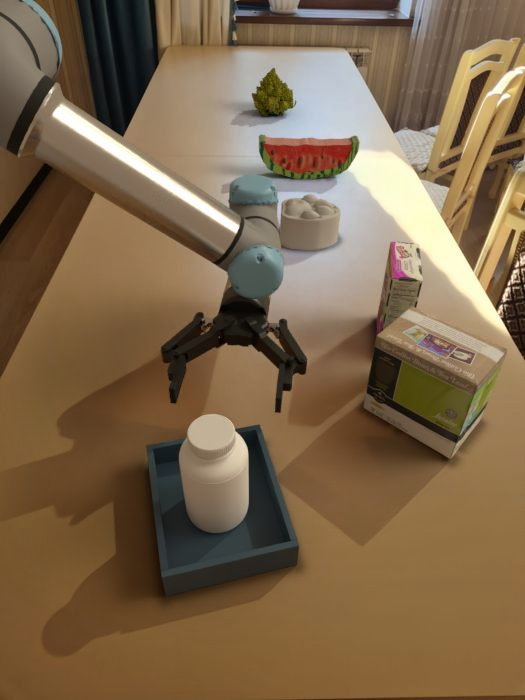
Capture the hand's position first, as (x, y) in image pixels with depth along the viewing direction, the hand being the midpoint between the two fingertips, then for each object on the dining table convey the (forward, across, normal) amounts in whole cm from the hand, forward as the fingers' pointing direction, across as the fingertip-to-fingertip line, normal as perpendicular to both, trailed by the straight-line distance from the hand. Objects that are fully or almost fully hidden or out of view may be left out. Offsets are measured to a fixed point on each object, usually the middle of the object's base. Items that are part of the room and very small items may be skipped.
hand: (224, 401), depth 69 cm
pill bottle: (+9, 0, -10) cm, 14 cm away
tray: (+9, 0, -11) cm, 14 cm away
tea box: (-11, -28, -11) cm, 32 cm away
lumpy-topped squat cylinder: (-63, -9, -11) cm, 64 cm away
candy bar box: (-29, -25, -11) cm, 40 cm away
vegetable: (-147, +7, -11) cm, 148 cm away
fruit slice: (-97, -7, -11) cm, 98 cm away
